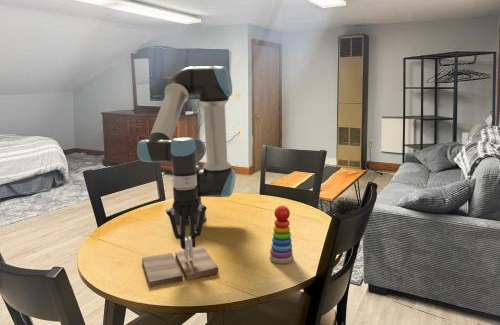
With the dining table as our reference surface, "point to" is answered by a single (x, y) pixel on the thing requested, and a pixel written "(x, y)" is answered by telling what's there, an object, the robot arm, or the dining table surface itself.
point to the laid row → (161, 270)
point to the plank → (196, 263)
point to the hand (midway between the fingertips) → (188, 257)
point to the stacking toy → (281, 237)
